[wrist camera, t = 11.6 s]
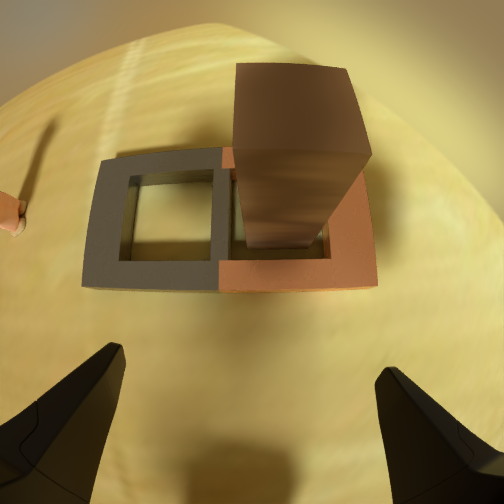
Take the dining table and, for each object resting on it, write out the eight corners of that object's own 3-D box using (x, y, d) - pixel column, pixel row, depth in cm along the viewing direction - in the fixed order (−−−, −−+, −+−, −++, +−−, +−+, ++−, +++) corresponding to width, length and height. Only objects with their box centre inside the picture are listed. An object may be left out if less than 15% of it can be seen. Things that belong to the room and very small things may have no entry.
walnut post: (303, 194, 22) (346, 68, 9) (307, 248, 21) (372, 154, 8) (247, 194, 22) (236, 63, 9) (247, 249, 21) (232, 149, 8)
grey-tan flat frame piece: (351, 162, 22) (358, 150, 20) (367, 288, 20) (377, 285, 18) (111, 171, 23) (101, 160, 21) (94, 289, 20) (81, 286, 18)
